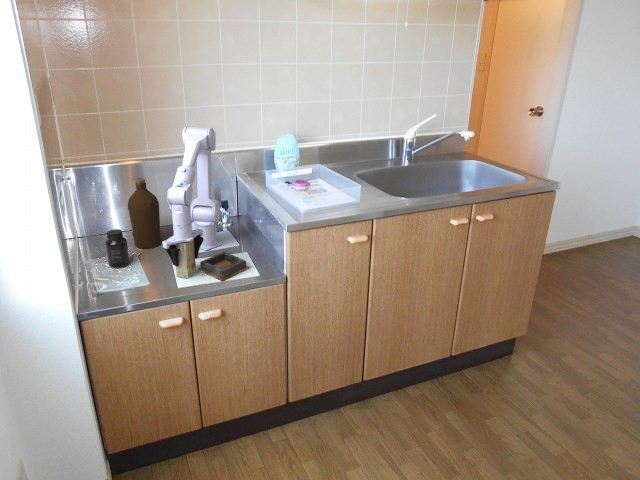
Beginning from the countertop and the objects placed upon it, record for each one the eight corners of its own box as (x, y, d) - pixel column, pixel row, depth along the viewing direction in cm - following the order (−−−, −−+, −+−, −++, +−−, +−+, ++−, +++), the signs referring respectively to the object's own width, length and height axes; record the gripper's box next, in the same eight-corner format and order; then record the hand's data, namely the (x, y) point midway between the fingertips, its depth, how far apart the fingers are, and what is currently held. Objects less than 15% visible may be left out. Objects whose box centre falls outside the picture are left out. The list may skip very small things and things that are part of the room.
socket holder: (198, 269, 167) (197, 261, 166) (225, 258, 176) (224, 250, 174) (222, 281, 160) (221, 273, 159) (248, 268, 169) (248, 260, 168)
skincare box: (188, 278, 161) (185, 244, 156) (176, 276, 162) (172, 243, 157) (196, 269, 167) (194, 236, 162) (184, 268, 168) (181, 235, 163)
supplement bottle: (134, 261, 171) (129, 229, 166) (120, 270, 165) (116, 237, 160) (117, 258, 173) (113, 226, 168) (104, 266, 167) (98, 234, 162)
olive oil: (166, 238, 189) (160, 175, 178) (157, 250, 179) (149, 184, 169) (139, 237, 189) (131, 174, 179) (128, 249, 180) (119, 183, 169)
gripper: (170, 233, 150) (174, 272, 155) (208, 220, 160) (210, 257, 166) (156, 227, 154) (161, 265, 159) (194, 214, 164) (197, 251, 170)
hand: (185, 261), depth 163 cm, fingers open, 7 cm apart
